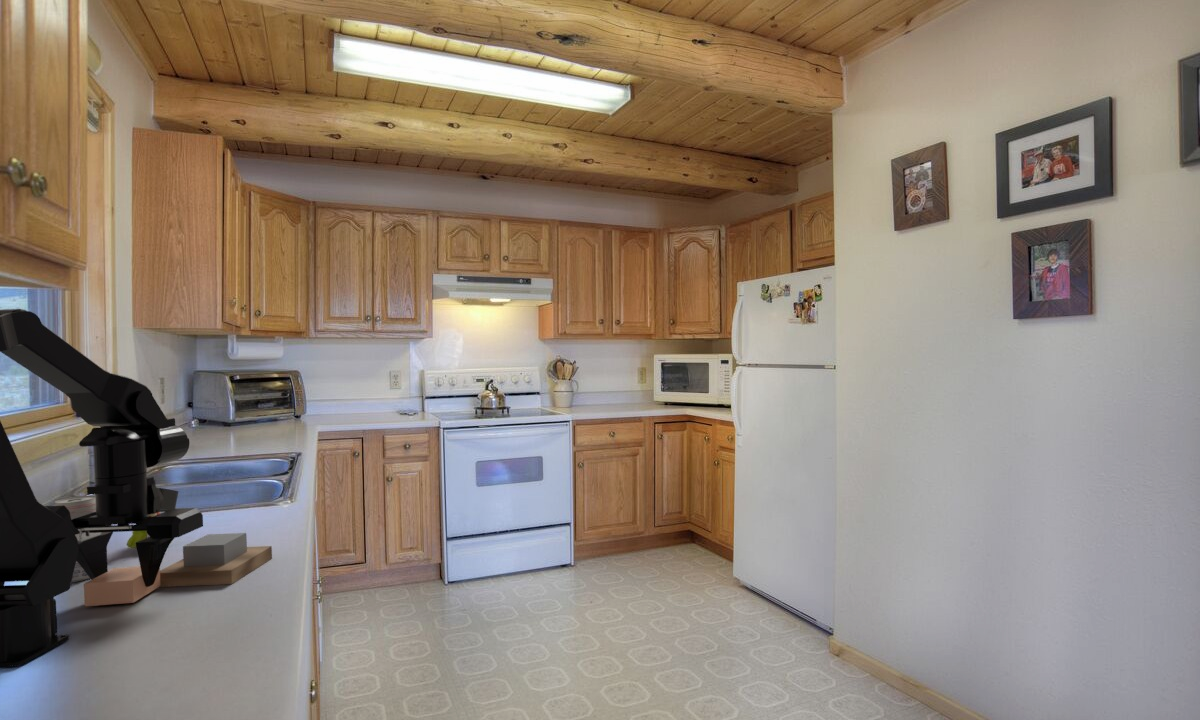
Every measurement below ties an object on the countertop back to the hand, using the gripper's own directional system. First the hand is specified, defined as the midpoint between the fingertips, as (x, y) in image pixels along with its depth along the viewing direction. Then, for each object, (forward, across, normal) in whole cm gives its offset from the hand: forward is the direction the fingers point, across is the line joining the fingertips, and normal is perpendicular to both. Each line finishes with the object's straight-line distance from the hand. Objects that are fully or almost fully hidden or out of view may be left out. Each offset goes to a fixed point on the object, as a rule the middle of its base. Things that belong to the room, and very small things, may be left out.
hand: (126, 586), depth 85 cm
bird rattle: (+2, +14, -24) cm, 28 cm away
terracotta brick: (+1, 0, 0) cm, 1 cm away
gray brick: (-1, -7, -9) cm, 11 cm away
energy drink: (+2, +14, -9) cm, 17 cm away
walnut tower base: (+1, -7, -9) cm, 11 cm away
